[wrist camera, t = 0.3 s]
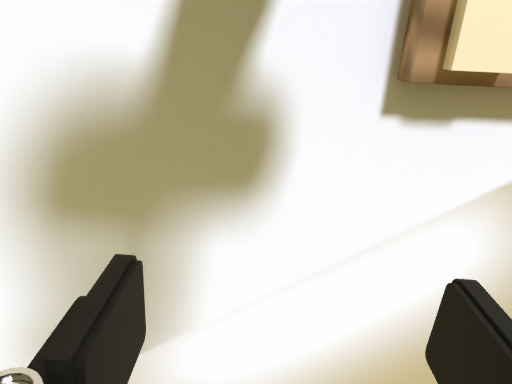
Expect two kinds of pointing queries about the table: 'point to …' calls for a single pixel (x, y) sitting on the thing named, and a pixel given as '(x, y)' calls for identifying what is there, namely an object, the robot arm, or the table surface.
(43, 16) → the table surface
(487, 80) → the brown wooden slab
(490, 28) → the block
